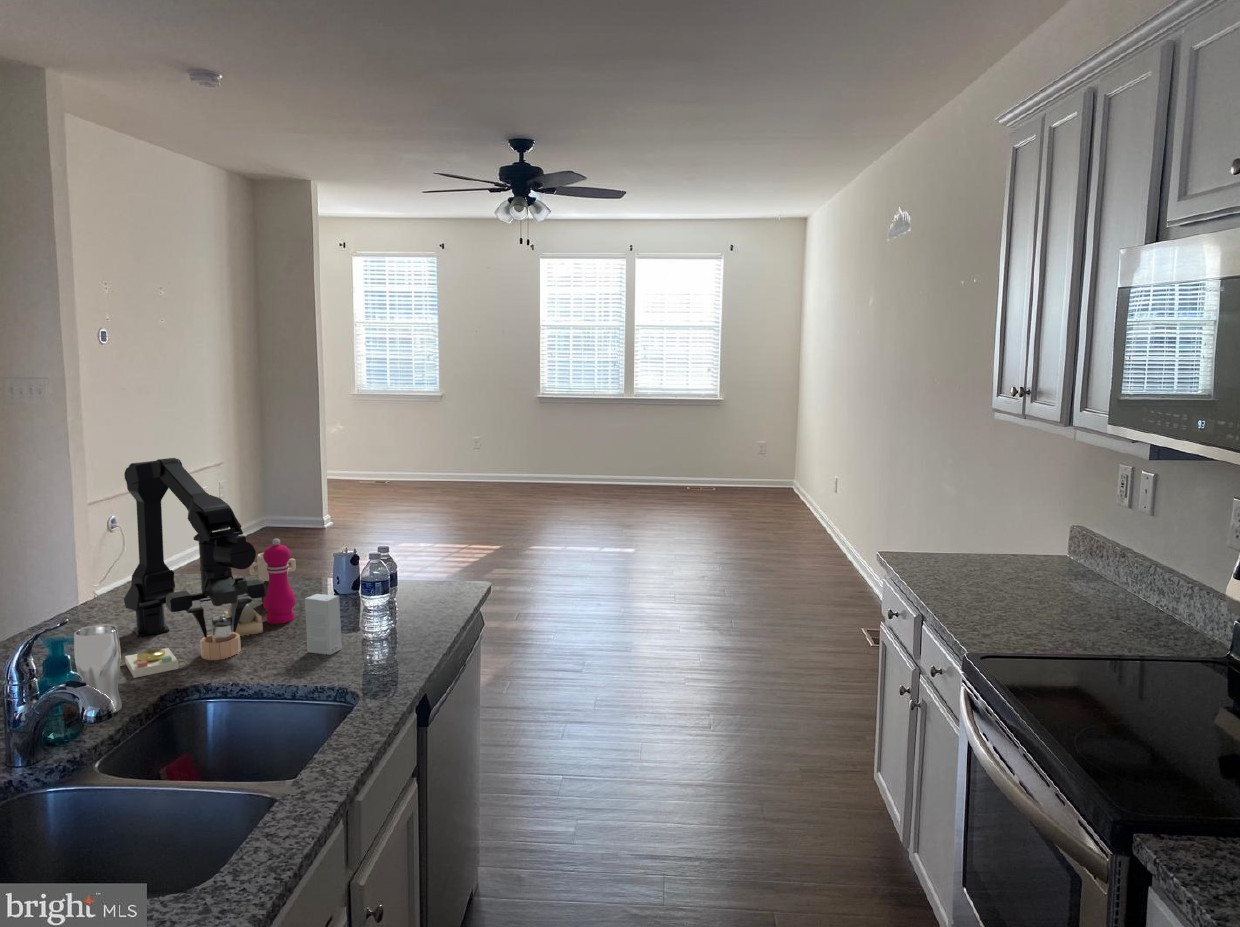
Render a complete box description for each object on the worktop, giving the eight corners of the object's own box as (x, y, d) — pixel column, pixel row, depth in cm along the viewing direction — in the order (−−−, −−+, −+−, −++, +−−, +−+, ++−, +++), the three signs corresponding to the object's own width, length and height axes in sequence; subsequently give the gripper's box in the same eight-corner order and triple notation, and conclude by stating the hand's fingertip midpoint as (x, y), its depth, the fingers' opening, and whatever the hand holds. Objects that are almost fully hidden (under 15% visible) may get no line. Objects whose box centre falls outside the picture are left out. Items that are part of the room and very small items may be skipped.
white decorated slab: (125, 663, 175) (124, 652, 175) (168, 655, 180) (167, 644, 180) (133, 677, 167) (132, 666, 167) (178, 668, 172) (177, 657, 172)
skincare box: (342, 649, 184) (340, 595, 182) (330, 655, 180) (327, 601, 178) (319, 646, 186) (316, 593, 184) (306, 652, 182) (303, 598, 180)
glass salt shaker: (209, 649, 181) (210, 614, 181) (228, 646, 183) (229, 612, 183) (213, 653, 178) (214, 618, 178) (233, 651, 180) (234, 616, 180)
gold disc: (135, 656, 174) (135, 652, 174) (162, 651, 177) (162, 647, 177) (139, 663, 170) (139, 659, 170) (167, 658, 173) (167, 654, 173)
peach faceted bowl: (198, 652, 182) (197, 636, 181) (235, 645, 186) (234, 629, 186) (206, 662, 176) (205, 646, 175) (244, 654, 180) (243, 638, 180)
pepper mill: (285, 625, 200) (280, 542, 197) (257, 623, 201) (253, 541, 198) (302, 616, 207) (298, 536, 204) (276, 614, 208) (271, 534, 205)
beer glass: (92, 722, 147) (85, 639, 145) (72, 713, 151) (64, 632, 149) (132, 707, 153) (126, 627, 151) (112, 699, 157) (105, 621, 155)
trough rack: (224, 626, 199) (222, 600, 198) (250, 621, 202) (249, 596, 202) (235, 637, 191) (233, 610, 190) (262, 632, 195) (261, 606, 194)
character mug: (296, 597, 223) (293, 548, 221) (298, 604, 217) (296, 554, 215) (251, 602, 218) (248, 553, 216) (252, 609, 212) (249, 559, 210)
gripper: (174, 578, 166) (179, 654, 168) (272, 563, 178) (276, 635, 180) (162, 566, 175) (168, 639, 177) (257, 553, 186) (261, 622, 188)
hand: (219, 634), depth 180 cm, fingers open, 5 cm apart
